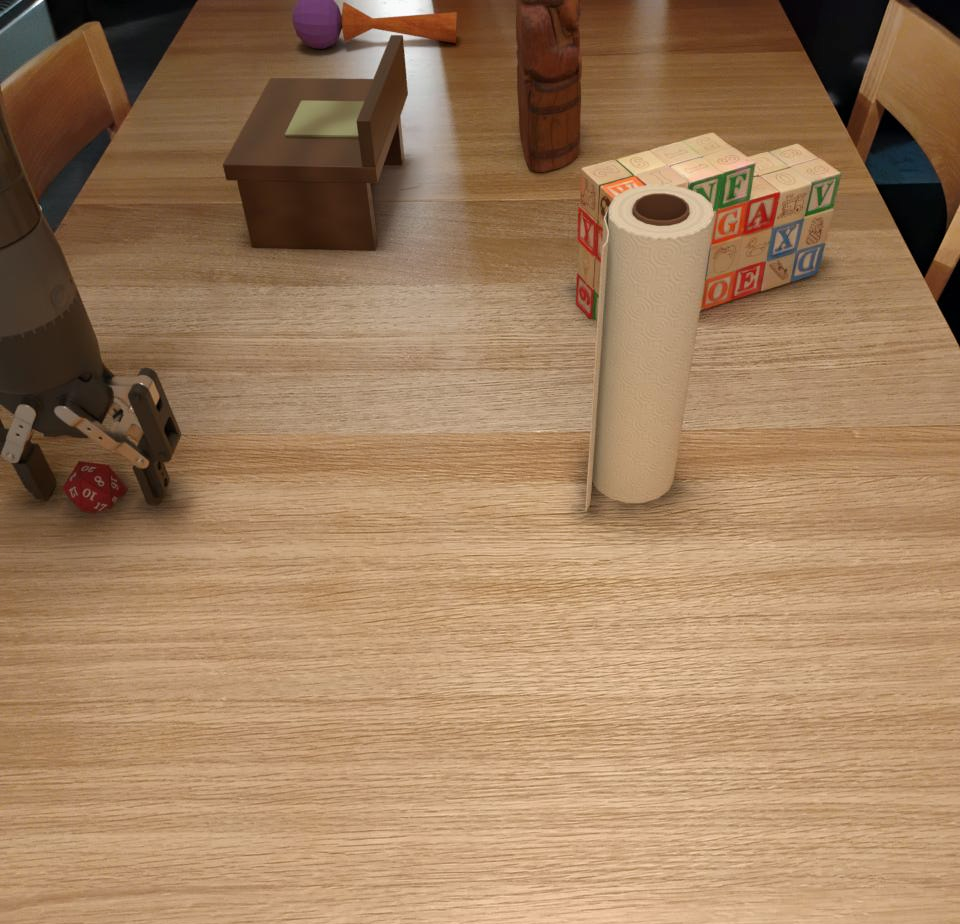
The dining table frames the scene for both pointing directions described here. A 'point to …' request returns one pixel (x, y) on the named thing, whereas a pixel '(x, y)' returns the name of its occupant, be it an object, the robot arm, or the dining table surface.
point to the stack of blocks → (722, 212)
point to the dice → (93, 487)
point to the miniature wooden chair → (320, 156)
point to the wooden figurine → (549, 81)
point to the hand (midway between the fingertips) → (102, 494)
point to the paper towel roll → (645, 337)
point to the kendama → (364, 23)
